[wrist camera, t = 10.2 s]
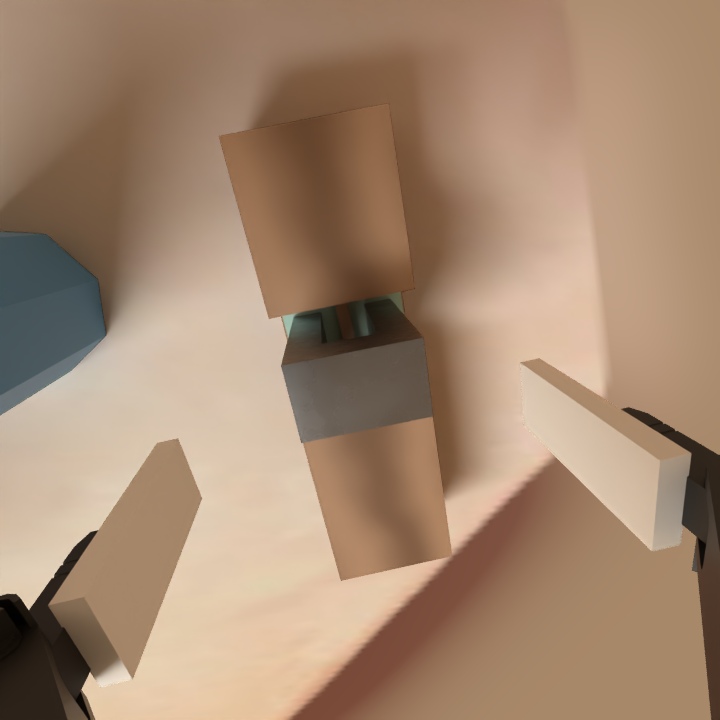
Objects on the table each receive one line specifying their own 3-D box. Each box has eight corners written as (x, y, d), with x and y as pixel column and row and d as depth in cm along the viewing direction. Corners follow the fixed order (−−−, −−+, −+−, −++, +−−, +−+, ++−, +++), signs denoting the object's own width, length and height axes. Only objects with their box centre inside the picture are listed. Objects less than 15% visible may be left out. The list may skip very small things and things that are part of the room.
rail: (337, 528, 33) (340, 580, 28) (238, 151, 23) (218, 136, 19) (433, 507, 33) (452, 555, 29) (374, 124, 24) (388, 102, 19)
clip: (307, 373, 28) (301, 443, 19) (293, 317, 26) (281, 365, 18) (398, 355, 28) (433, 416, 19) (390, 298, 26) (423, 337, 18)
